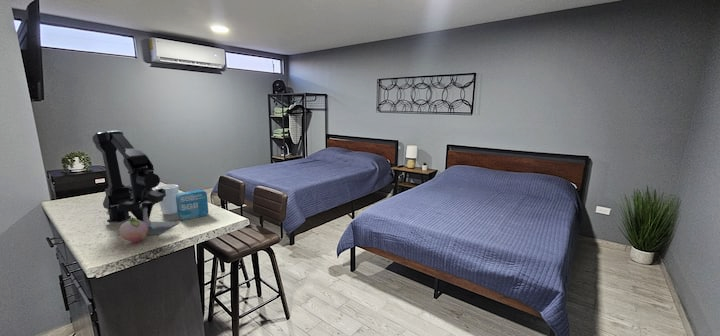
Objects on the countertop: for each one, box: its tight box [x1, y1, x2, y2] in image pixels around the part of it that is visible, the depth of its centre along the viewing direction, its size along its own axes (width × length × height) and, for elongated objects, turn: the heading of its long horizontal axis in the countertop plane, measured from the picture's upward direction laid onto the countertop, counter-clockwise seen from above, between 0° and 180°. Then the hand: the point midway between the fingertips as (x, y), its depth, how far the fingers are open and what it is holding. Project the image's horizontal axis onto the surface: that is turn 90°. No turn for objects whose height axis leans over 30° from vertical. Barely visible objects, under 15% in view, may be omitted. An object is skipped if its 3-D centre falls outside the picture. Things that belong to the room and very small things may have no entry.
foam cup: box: [154, 183, 180, 216], centre depth 146 cm, size 10×9×13 cm
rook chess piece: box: [143, 207, 152, 227], centre depth 125 cm, size 4×4×8 cm
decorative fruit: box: [118, 216, 148, 243], centre depth 112 cm, size 9×8×10 cm
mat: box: [117, 221, 180, 236], centre depth 126 cm, size 16×14×1 cm
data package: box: [176, 189, 209, 221], centre depth 140 cm, size 12×4×12 cm, turn 134°
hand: (144, 220), depth 126 cm, fingers closed on rook chess piece, 3 cm apart
